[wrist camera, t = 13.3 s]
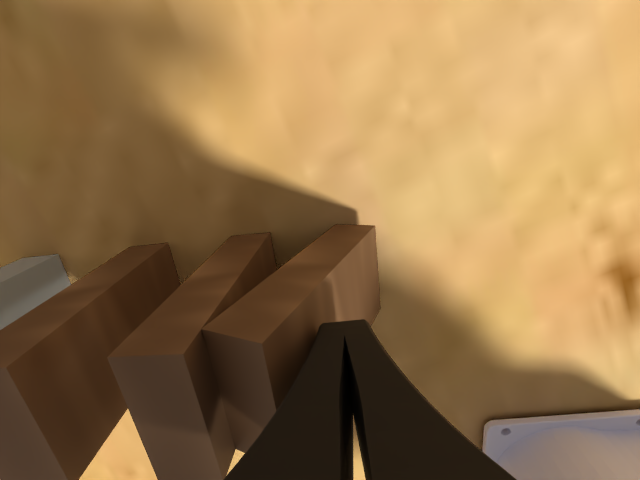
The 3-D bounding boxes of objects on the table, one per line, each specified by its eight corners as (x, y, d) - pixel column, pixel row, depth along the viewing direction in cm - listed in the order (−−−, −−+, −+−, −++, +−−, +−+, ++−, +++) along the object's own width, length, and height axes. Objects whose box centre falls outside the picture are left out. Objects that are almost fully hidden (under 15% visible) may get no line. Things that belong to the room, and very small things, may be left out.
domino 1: (375, 225, 14) (261, 343, 7) (380, 308, 15) (289, 473, 8) (335, 224, 14) (201, 329, 8) (344, 303, 16) (235, 448, 9)
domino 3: (167, 242, 15) (5, 367, 7) (190, 317, 16) (72, 488, 9) (129, 246, 15) (-69, 374, 7) (155, 321, 16) (8, 492, 9)
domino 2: (269, 232, 14) (183, 354, 7) (284, 310, 16) (224, 481, 8) (231, 235, 15) (107, 357, 7) (248, 312, 16) (158, 481, 9)
